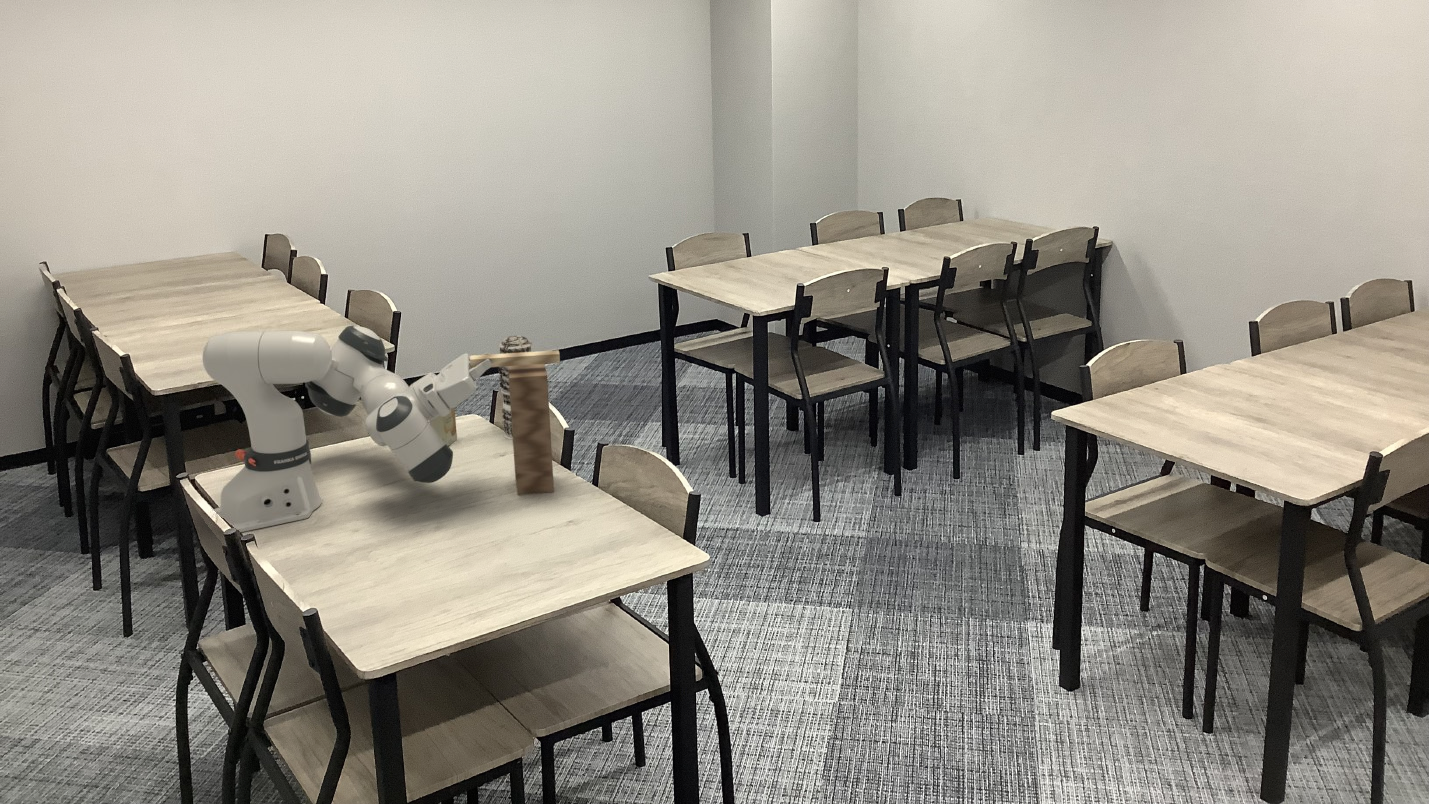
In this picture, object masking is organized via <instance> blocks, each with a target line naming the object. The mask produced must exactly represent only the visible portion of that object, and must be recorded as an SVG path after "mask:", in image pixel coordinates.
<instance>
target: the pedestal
mask: <svg viewBox="0 0 1429 804" xmlns="http://www.w3.org/2000/svg"><path fill="white" fill-rule="evenodd" d="M545 365H546V364H534V365H518V366H508V377H509V392H510V406H511V421H512V436H513V440H512V448H513V449H512V450H513V462H514V463H513V464H514V477H515V485H516V494H517V496H521V495H523V494H524V495H532V494H533V493H535V494H543V493H545V492H547V493H554V492H555V487H554V486H555V485H554V471H553V469H554V468H553V453H552V434H551V419H550V418H551V417H550V401H549V385H548V373H547V367H546V366H545ZM545 494H546V493H545ZM524 495H523V496H524ZM533 495H534V494H533Z"/></svg>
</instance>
